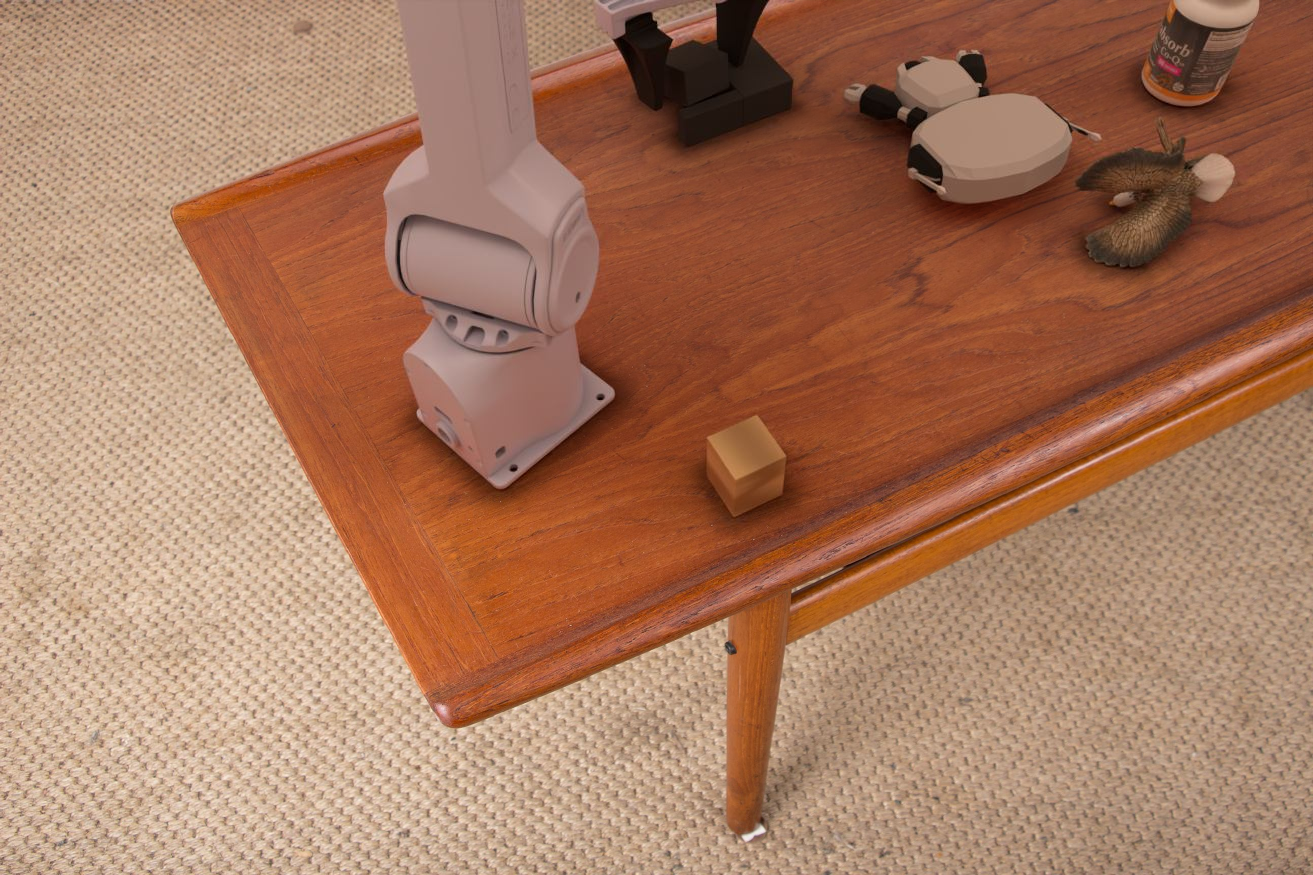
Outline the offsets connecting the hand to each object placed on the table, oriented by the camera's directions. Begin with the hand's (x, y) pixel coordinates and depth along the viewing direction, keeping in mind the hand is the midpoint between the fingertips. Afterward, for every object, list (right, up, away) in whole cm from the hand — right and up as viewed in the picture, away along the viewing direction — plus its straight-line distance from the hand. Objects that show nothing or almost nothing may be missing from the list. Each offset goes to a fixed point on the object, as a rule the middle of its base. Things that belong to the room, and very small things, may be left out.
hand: (691, 81), depth 79 cm
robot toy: (+19, -6, -1) cm, 20 cm away
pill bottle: (+37, 0, +2) cm, 37 cm away
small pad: (0, 0, 0) cm, 1 cm away
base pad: (+2, -1, +3) cm, 3 cm away
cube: (+2, -29, -17) cm, 33 cm away
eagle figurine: (+30, -12, -6) cm, 32 cm away
